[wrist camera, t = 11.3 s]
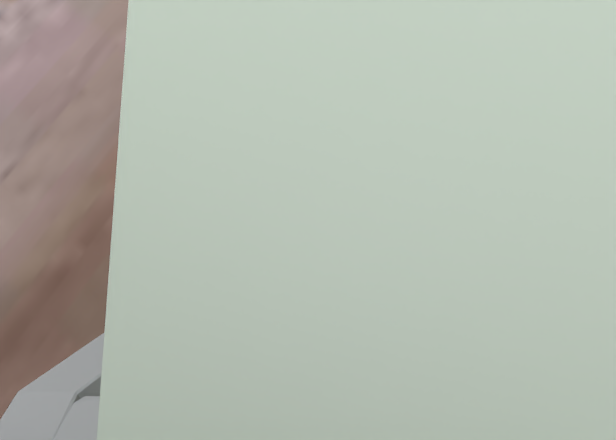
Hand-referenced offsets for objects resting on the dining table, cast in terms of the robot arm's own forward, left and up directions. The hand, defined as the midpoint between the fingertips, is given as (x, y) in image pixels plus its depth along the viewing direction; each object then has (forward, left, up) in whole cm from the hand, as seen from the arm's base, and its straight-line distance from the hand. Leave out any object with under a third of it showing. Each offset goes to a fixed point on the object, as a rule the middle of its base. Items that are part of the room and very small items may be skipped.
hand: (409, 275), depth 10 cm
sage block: (0, -1, -7) cm, 7 cm away
